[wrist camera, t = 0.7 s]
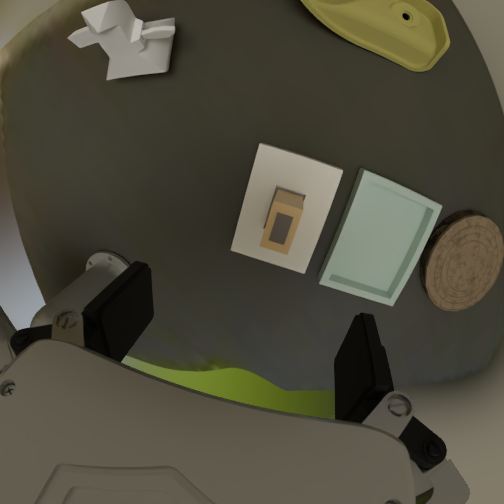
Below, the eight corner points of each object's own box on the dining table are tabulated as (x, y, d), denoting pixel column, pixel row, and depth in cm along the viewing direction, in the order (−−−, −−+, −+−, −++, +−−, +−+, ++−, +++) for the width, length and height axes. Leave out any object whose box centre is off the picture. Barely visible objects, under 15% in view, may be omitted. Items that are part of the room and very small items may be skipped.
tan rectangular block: (290, 229, 35) (287, 255, 28) (268, 222, 35) (259, 246, 28) (302, 193, 33) (303, 210, 26) (279, 185, 33) (273, 200, 26)
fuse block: (304, 263, 38) (304, 273, 35) (235, 241, 38) (230, 250, 36) (339, 167, 32) (343, 170, 29) (262, 142, 32) (259, 143, 30)
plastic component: (440, 9, 17) (452, 50, 17) (418, 36, 24) (423, 77, 24) (299, -49, 16) (284, -22, 16) (292, -14, 24) (277, 20, 24)
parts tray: (388, 296, 38) (392, 306, 36) (318, 274, 38) (319, 283, 36) (434, 201, 31) (442, 206, 29) (360, 167, 31) (364, 169, 29)
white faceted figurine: (192, 75, 30) (137, 52, 17) (109, 83, 31) (43, 78, 19) (200, 22, 26) (153, -19, 14) (117, 36, 28) (56, 17, 15)
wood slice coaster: (402, 249, 35) (409, 258, 32) (478, 189, 29) (488, 194, 26) (437, 317, 38) (443, 327, 36) (501, 265, 32) (510, 273, 29)
